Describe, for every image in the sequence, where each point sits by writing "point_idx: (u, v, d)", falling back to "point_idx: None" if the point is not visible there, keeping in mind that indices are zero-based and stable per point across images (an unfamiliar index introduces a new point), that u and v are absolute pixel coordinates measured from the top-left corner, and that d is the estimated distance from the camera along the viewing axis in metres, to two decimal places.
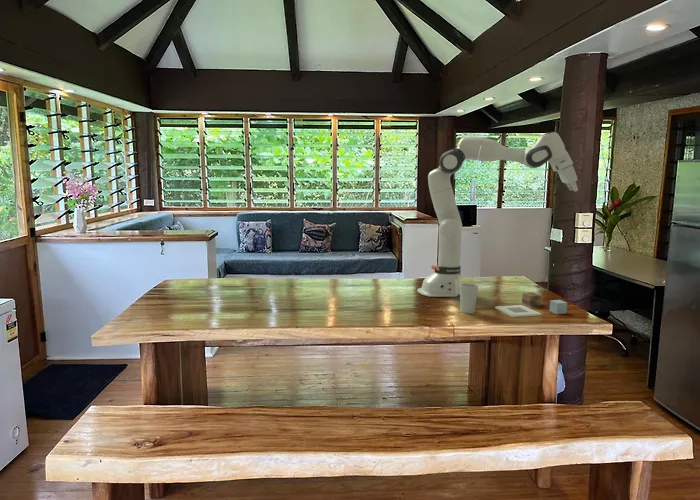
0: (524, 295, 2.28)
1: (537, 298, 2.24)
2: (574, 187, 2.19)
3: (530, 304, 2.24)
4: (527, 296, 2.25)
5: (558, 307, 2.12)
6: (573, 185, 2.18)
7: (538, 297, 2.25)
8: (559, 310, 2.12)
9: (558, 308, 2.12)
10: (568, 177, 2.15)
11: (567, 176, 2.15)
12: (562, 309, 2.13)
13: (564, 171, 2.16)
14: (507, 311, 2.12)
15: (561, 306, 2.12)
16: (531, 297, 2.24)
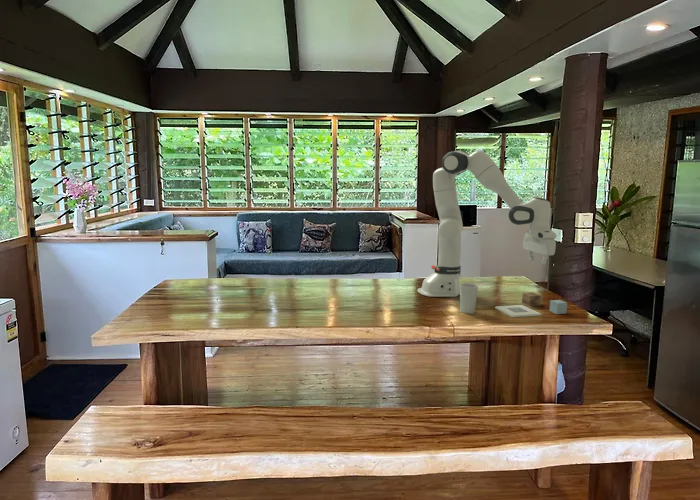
0: (524, 295, 2.28)
1: (537, 298, 2.24)
2: (544, 260, 2.18)
3: (530, 304, 2.24)
4: (527, 296, 2.25)
5: (558, 307, 2.12)
6: (545, 257, 2.18)
7: (538, 297, 2.25)
8: (559, 310, 2.12)
9: (558, 308, 2.12)
10: (549, 249, 2.13)
11: (548, 247, 2.13)
12: (562, 309, 2.13)
13: (547, 242, 2.13)
14: (507, 311, 2.12)
15: (561, 306, 2.12)
16: (531, 297, 2.24)
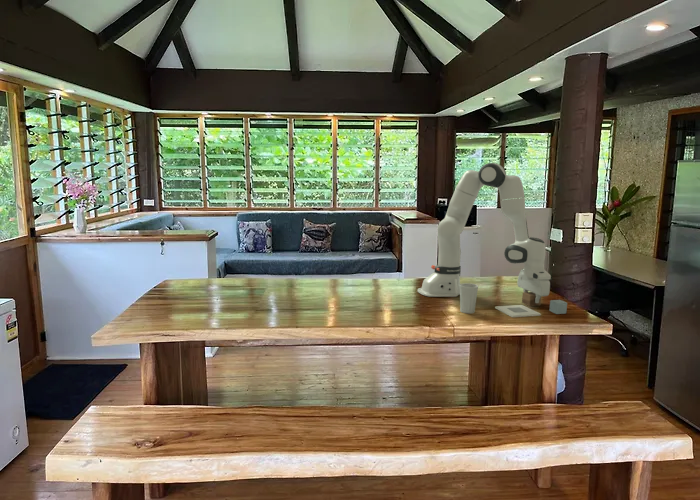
0: (524, 295, 2.28)
1: None
2: (537, 299, 2.23)
3: (530, 304, 2.24)
4: (527, 296, 2.25)
5: (558, 307, 2.12)
6: (538, 297, 2.22)
7: None
8: (559, 310, 2.12)
9: (558, 308, 2.12)
10: (543, 290, 2.16)
11: (543, 289, 2.16)
12: (562, 309, 2.13)
13: (542, 283, 2.16)
14: (507, 311, 2.12)
15: (561, 306, 2.12)
16: (531, 297, 2.24)
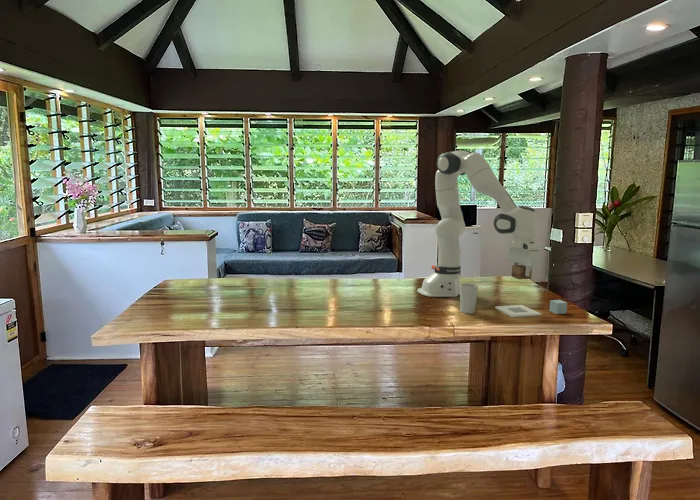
0: (514, 268, 2.13)
1: None
2: (527, 271, 2.08)
3: (520, 277, 2.09)
4: (517, 268, 2.11)
5: (558, 307, 2.12)
6: (528, 269, 2.07)
7: None
8: (559, 310, 2.12)
9: (558, 308, 2.12)
10: (533, 261, 2.02)
11: (533, 260, 2.02)
12: (562, 309, 2.13)
13: (532, 253, 2.02)
14: (507, 311, 2.12)
15: (561, 306, 2.12)
16: (521, 269, 2.09)
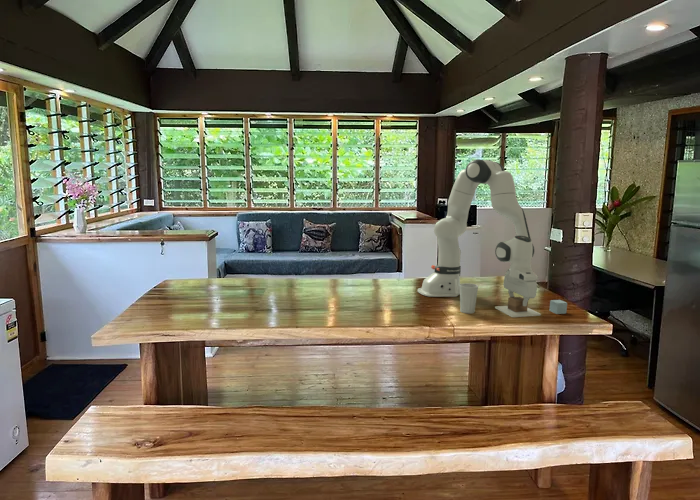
0: (510, 300, 2.15)
1: None
2: (525, 302, 2.08)
3: (516, 310, 2.11)
4: (513, 301, 2.12)
5: (558, 307, 2.12)
6: (526, 300, 2.08)
7: None
8: (559, 310, 2.12)
9: (558, 308, 2.12)
10: (529, 292, 2.03)
11: (529, 290, 2.03)
12: (562, 309, 2.13)
13: (528, 284, 2.03)
14: (507, 311, 2.12)
15: (561, 306, 2.12)
16: (517, 302, 2.11)
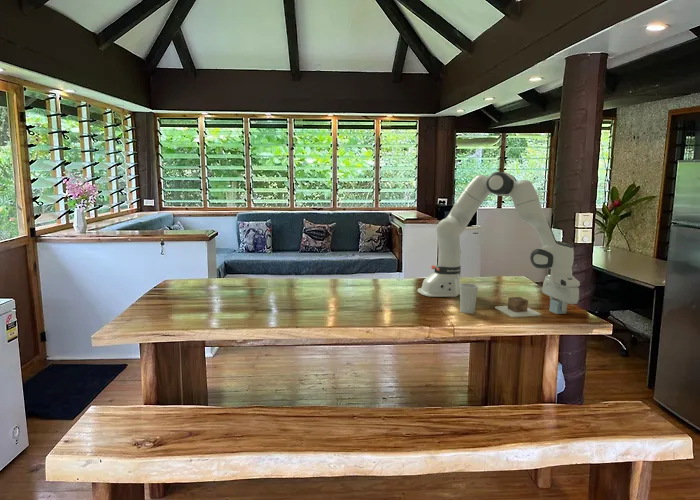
0: (510, 300, 2.15)
1: (523, 303, 2.11)
2: (564, 307, 2.11)
3: (516, 310, 2.11)
4: (513, 301, 2.12)
5: (558, 307, 2.12)
6: (565, 305, 2.10)
7: (524, 302, 2.11)
8: (559, 310, 2.12)
9: (558, 308, 2.12)
10: (572, 298, 2.04)
11: (571, 296, 2.04)
12: None
13: (571, 290, 2.04)
14: (507, 311, 2.12)
15: None
16: (517, 302, 2.11)
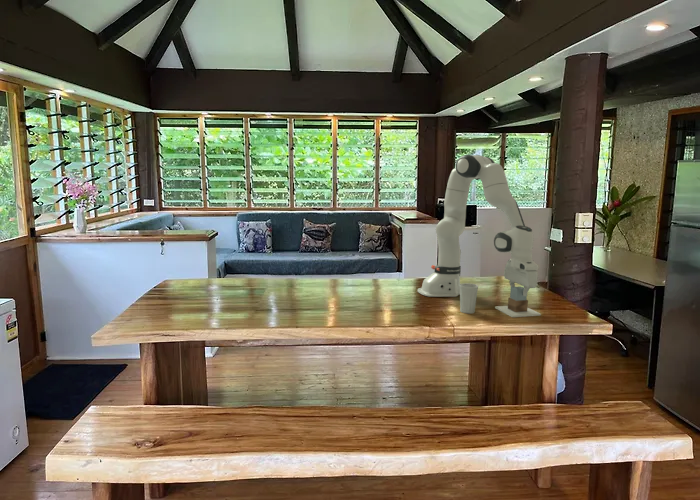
0: (510, 300, 2.15)
1: (523, 303, 2.11)
2: (525, 292, 2.08)
3: (516, 310, 2.11)
4: (513, 301, 2.12)
5: (518, 294, 2.10)
6: (526, 289, 2.07)
7: (524, 302, 2.11)
8: (519, 296, 2.11)
9: (518, 294, 2.11)
10: (530, 281, 2.02)
11: (530, 280, 2.02)
12: (522, 295, 2.11)
13: (529, 274, 2.02)
14: (507, 311, 2.12)
15: (521, 293, 2.11)
16: (517, 302, 2.11)
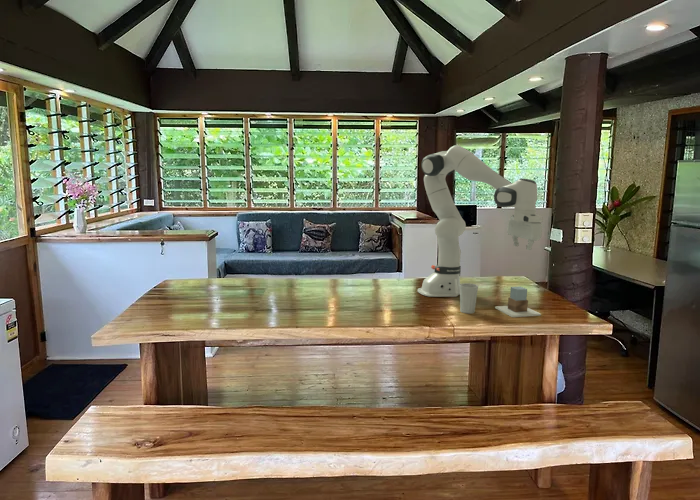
0: (510, 300, 2.15)
1: (523, 303, 2.11)
2: (529, 245, 2.04)
3: (516, 310, 2.11)
4: (513, 301, 2.12)
5: (518, 294, 2.10)
6: (530, 243, 2.03)
7: (524, 302, 2.11)
8: (519, 296, 2.11)
9: (518, 294, 2.11)
10: (534, 233, 1.99)
11: (534, 232, 1.99)
12: (522, 295, 2.11)
13: (533, 226, 1.99)
14: (507, 311, 2.12)
15: (521, 293, 2.11)
16: (517, 302, 2.11)
